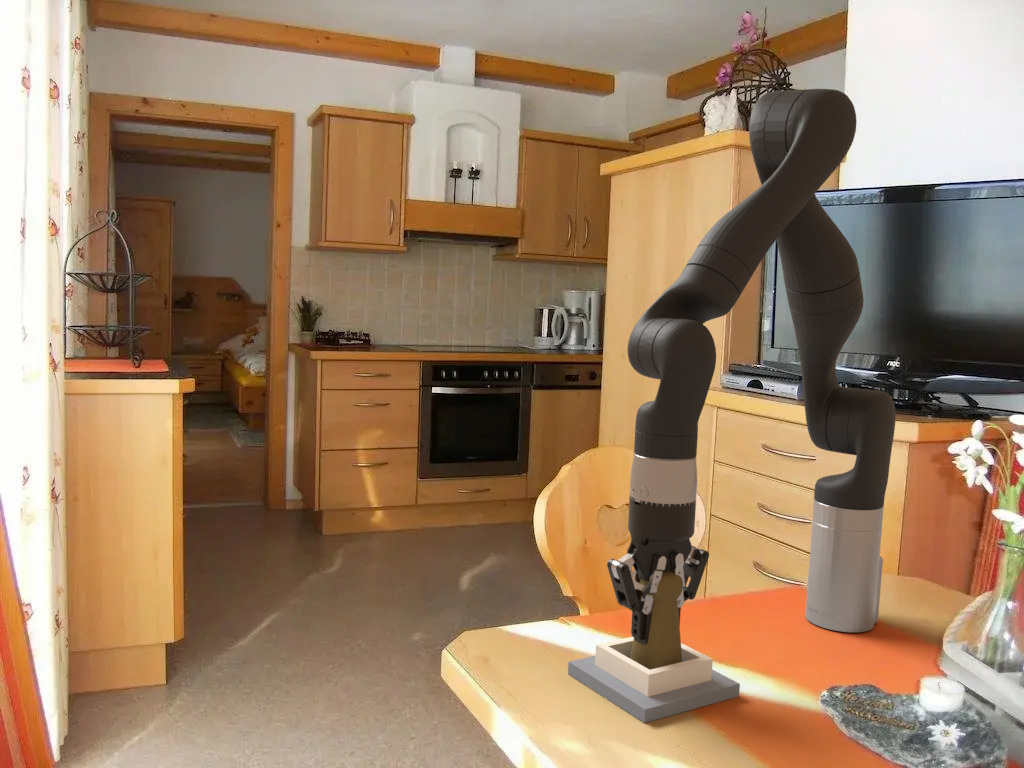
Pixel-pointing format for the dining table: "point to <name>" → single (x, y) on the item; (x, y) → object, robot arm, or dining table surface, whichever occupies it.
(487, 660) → the dining table surface
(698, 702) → the board
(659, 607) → the olive brown knobbed peg
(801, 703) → the dining table surface
